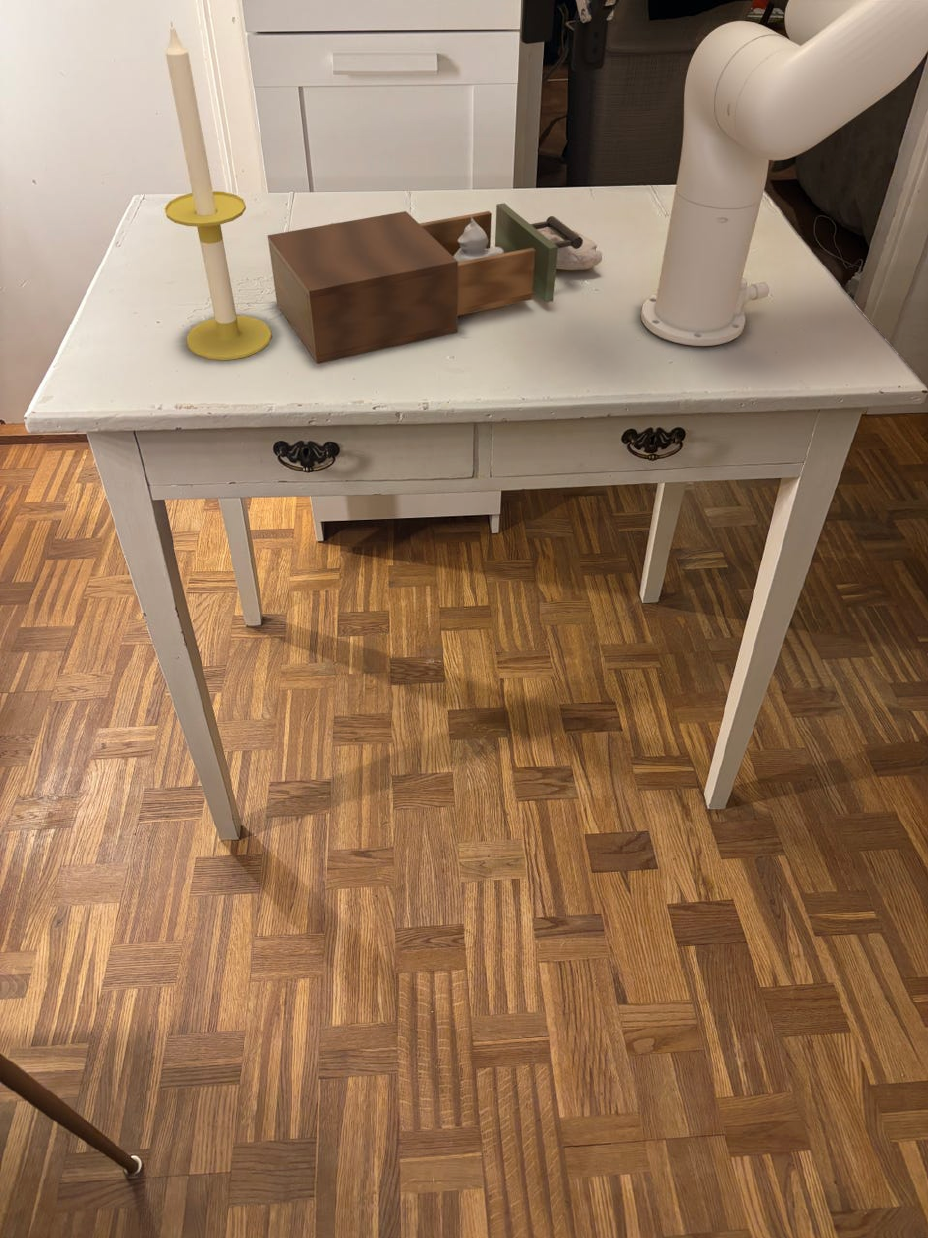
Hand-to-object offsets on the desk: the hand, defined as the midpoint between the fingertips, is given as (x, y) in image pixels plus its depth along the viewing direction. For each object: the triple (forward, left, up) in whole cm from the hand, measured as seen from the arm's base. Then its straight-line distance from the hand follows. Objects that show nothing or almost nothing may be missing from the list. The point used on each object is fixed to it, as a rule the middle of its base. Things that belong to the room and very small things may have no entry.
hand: (560, 54), depth 88 cm
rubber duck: (+1, -14, -28) cm, 32 cm away
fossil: (-13, -18, -31) cm, 38 cm away
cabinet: (+16, -14, -30) cm, 37 cm away
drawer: (0, -14, -29) cm, 33 cm away
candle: (+33, -16, -31) cm, 48 cm away
